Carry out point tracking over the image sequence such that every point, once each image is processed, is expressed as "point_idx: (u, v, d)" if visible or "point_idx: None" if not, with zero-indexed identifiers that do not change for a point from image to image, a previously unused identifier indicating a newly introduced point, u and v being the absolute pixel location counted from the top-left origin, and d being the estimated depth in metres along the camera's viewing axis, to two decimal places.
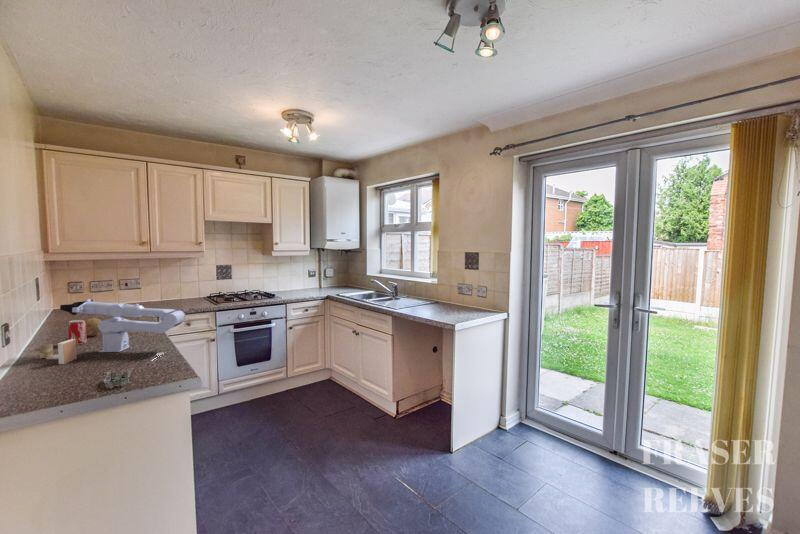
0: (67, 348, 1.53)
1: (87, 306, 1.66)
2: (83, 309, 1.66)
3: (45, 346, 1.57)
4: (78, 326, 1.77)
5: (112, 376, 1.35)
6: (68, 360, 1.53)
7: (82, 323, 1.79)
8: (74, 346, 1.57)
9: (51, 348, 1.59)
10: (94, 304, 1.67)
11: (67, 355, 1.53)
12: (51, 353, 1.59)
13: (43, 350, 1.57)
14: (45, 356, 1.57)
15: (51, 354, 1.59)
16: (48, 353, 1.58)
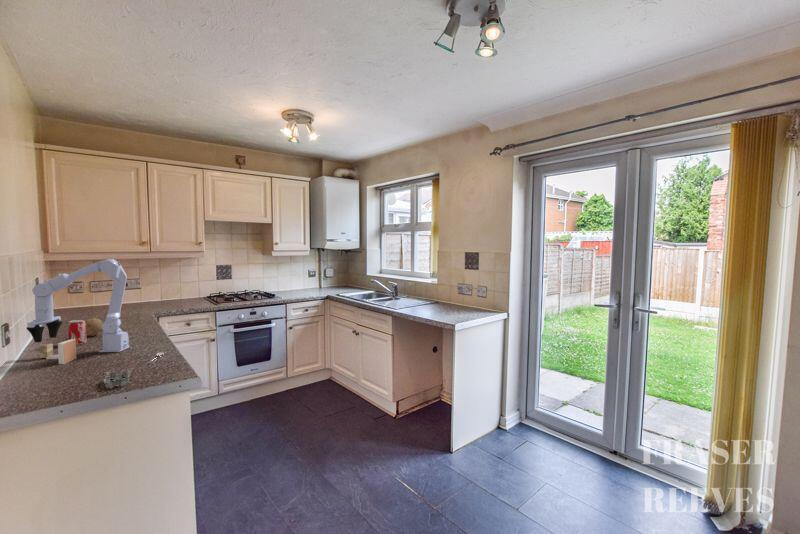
0: (67, 348, 1.53)
1: (36, 318, 1.55)
2: (39, 321, 1.55)
3: (45, 346, 1.57)
4: (78, 326, 1.77)
5: (112, 376, 1.35)
6: (68, 360, 1.53)
7: (82, 323, 1.79)
8: (74, 346, 1.57)
9: (51, 348, 1.59)
10: (35, 312, 1.55)
11: (67, 355, 1.53)
12: (51, 353, 1.59)
13: (43, 350, 1.57)
14: (45, 356, 1.57)
15: (51, 354, 1.59)
16: (48, 353, 1.58)
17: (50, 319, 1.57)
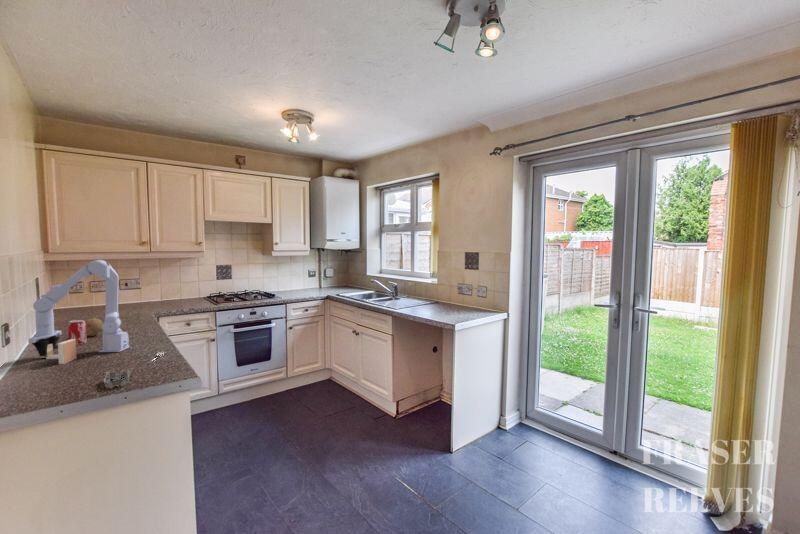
0: (67, 348, 1.53)
1: (37, 333, 1.55)
2: (40, 336, 1.55)
3: None
4: (78, 326, 1.77)
5: (111, 376, 1.35)
6: (68, 360, 1.53)
7: (82, 323, 1.79)
8: (74, 346, 1.57)
9: (51, 348, 1.59)
10: (36, 327, 1.56)
11: (67, 355, 1.53)
12: (51, 353, 1.59)
13: None
14: (45, 356, 1.57)
15: (51, 354, 1.59)
16: (48, 353, 1.58)
17: (51, 334, 1.58)
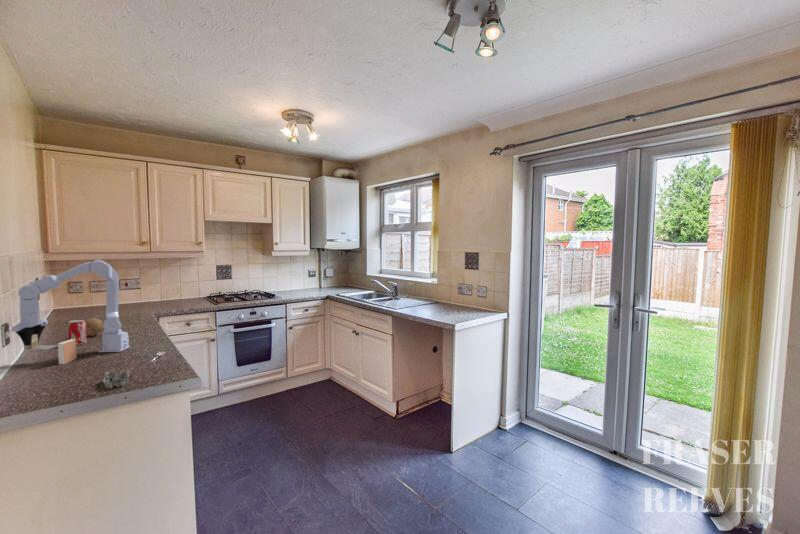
0: (67, 348, 1.53)
1: (21, 322, 1.49)
2: (24, 325, 1.49)
3: None
4: (78, 326, 1.77)
5: (111, 376, 1.35)
6: (68, 360, 1.53)
7: (82, 323, 1.79)
8: (74, 346, 1.57)
9: (36, 339, 1.53)
10: (20, 315, 1.49)
11: (67, 355, 1.53)
12: (36, 344, 1.53)
13: None
14: (29, 347, 1.51)
15: (36, 345, 1.53)
16: (33, 344, 1.51)
17: (36, 323, 1.51)
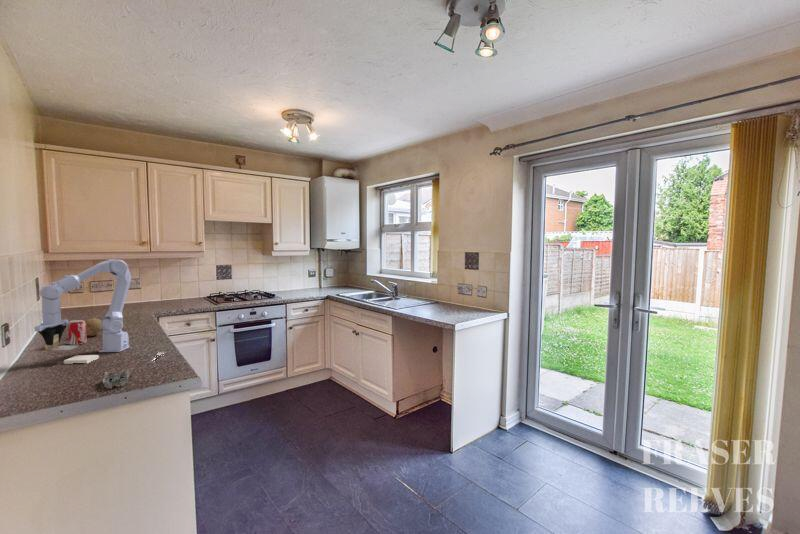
0: None
1: (43, 321, 1.50)
2: (47, 324, 1.50)
3: None
4: (78, 326, 1.77)
5: (110, 376, 1.35)
6: None
7: (82, 323, 1.79)
8: None
9: (57, 339, 1.54)
10: (42, 315, 1.50)
11: None
12: (57, 344, 1.54)
13: None
14: (51, 347, 1.52)
15: (57, 345, 1.54)
16: (54, 344, 1.52)
17: (58, 322, 1.52)
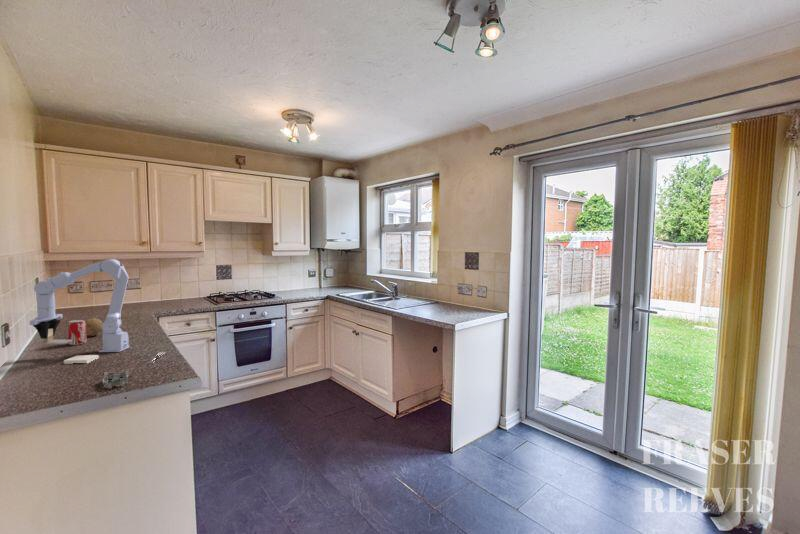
0: None
1: (38, 316, 1.56)
2: (41, 318, 1.55)
3: None
4: (78, 326, 1.77)
5: (109, 376, 1.34)
6: None
7: (82, 323, 1.79)
8: None
9: (51, 333, 1.60)
10: (37, 309, 1.56)
11: None
12: (51, 338, 1.60)
13: None
14: (45, 341, 1.58)
15: (51, 339, 1.60)
16: (48, 338, 1.58)
17: (52, 317, 1.58)
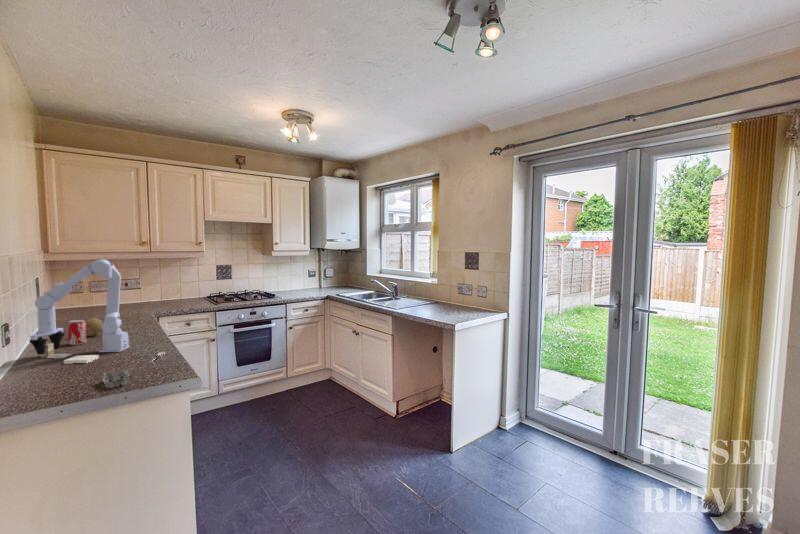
0: None
1: (39, 330, 1.56)
2: (42, 333, 1.56)
3: (46, 345, 1.58)
4: (78, 326, 1.77)
5: (107, 377, 1.34)
6: None
7: (82, 323, 1.79)
8: None
9: (52, 347, 1.60)
10: (38, 324, 1.57)
11: None
12: (52, 352, 1.60)
13: None
14: (46, 355, 1.58)
15: (52, 353, 1.60)
16: (49, 353, 1.59)
17: (53, 331, 1.58)
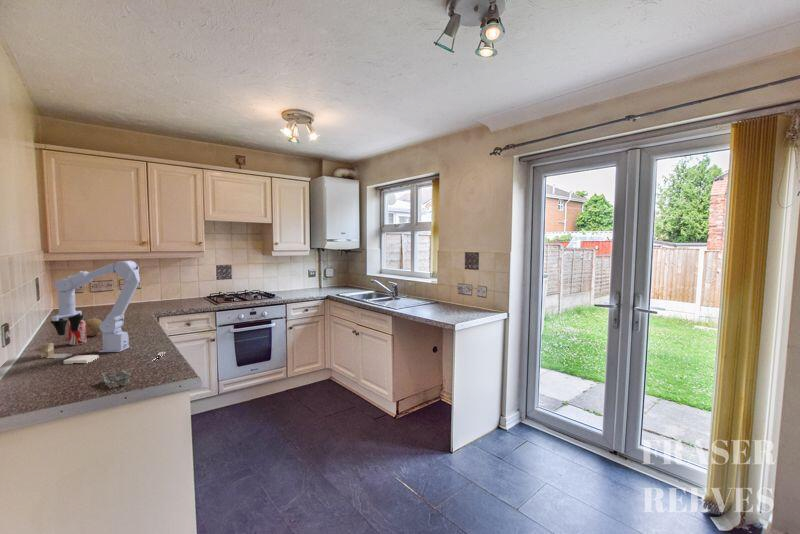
0: None
1: (59, 312, 1.62)
2: (62, 315, 1.62)
3: (46, 345, 1.58)
4: None
5: None
6: None
7: (82, 323, 1.79)
8: None
9: (52, 347, 1.60)
10: None
11: None
12: (52, 352, 1.60)
13: (44, 349, 1.58)
14: (46, 355, 1.58)
15: (52, 353, 1.60)
16: (49, 353, 1.59)
17: (72, 313, 1.64)
